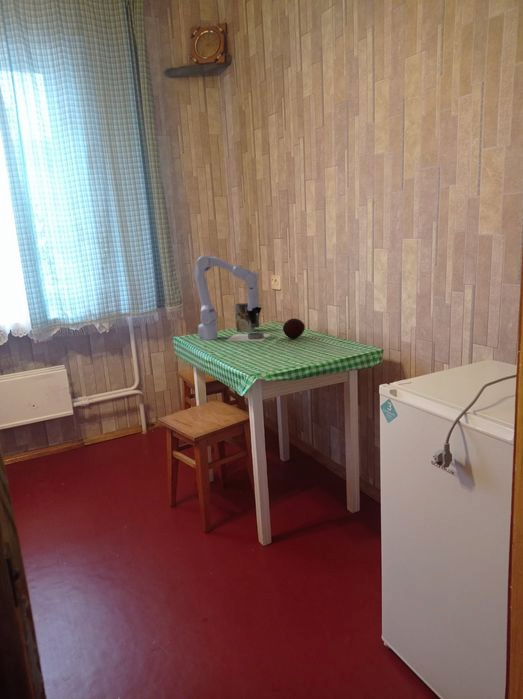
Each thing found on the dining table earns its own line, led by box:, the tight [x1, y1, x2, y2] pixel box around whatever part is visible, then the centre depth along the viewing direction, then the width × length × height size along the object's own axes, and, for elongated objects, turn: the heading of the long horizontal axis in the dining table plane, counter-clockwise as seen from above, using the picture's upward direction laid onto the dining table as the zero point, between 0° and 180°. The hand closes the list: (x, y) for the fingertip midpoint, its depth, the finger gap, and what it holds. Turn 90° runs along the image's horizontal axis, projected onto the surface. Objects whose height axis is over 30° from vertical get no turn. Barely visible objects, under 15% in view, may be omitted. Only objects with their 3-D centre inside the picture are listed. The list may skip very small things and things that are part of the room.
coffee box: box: [234, 302, 256, 333], centre depth 284 cm, size 9×6×16 cm
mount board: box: [224, 331, 271, 342], centre depth 267 cm, size 20×16×3 cm
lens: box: [250, 313, 260, 329], centre depth 263 cm, size 5×5×7 cm
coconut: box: [282, 318, 306, 340], centre depth 261 cm, size 11×13×10 cm
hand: (254, 322), depth 263 cm, fingers closed on lens, 4 cm apart
